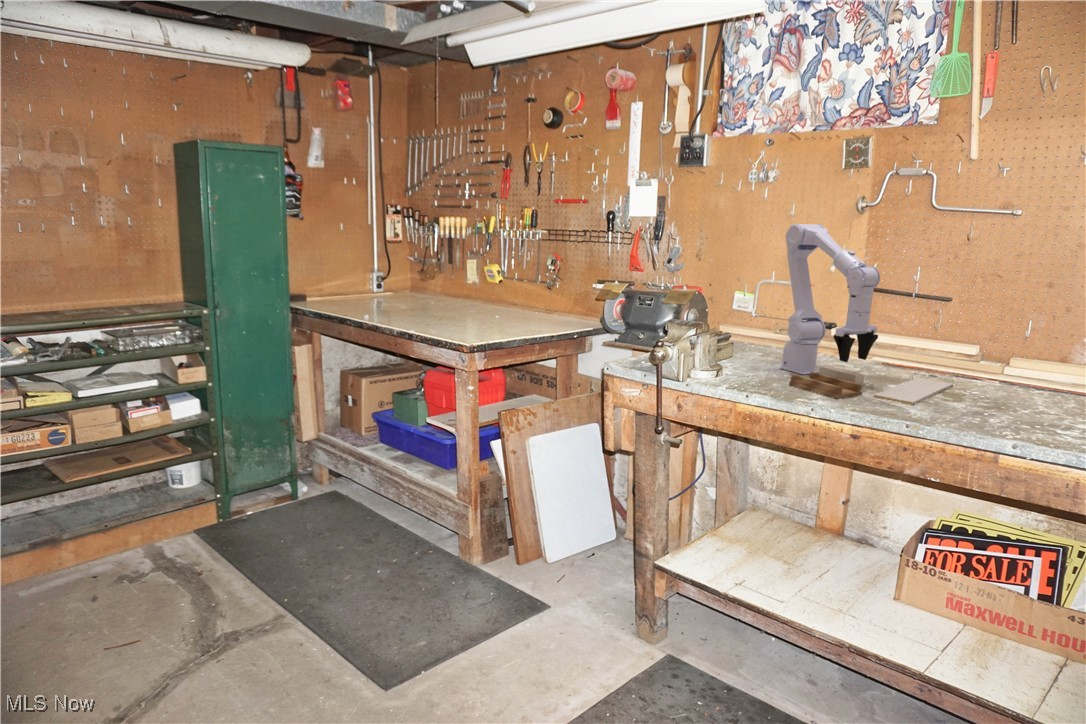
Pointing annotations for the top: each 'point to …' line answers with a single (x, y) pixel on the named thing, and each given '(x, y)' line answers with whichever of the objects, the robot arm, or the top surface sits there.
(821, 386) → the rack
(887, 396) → the baseboard
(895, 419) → the top surface
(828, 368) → the beige rectangular block
